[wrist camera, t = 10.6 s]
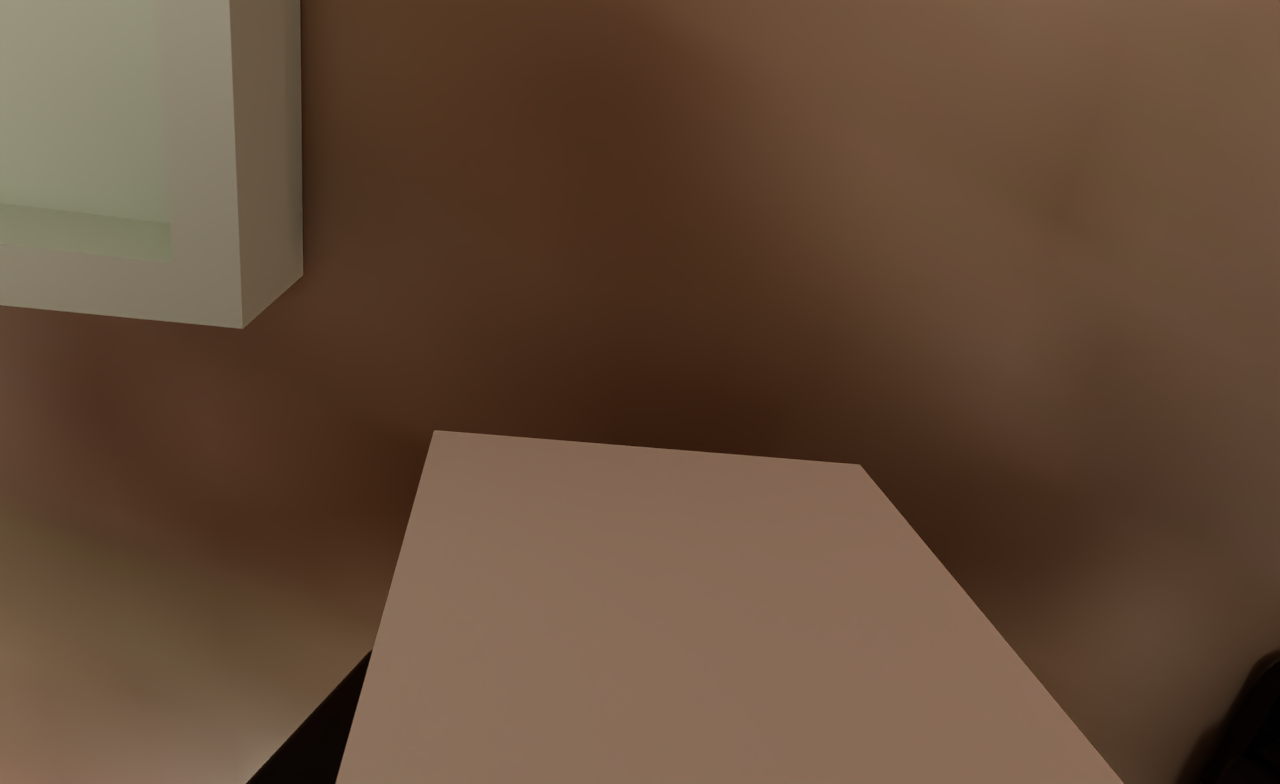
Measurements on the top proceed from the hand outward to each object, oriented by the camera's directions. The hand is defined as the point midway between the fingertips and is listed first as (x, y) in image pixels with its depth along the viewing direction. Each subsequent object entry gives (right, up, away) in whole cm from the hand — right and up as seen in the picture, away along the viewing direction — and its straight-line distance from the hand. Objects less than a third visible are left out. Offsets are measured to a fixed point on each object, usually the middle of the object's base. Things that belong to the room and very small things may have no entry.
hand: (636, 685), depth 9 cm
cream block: (0, 0, +1) cm, 1 cm away
